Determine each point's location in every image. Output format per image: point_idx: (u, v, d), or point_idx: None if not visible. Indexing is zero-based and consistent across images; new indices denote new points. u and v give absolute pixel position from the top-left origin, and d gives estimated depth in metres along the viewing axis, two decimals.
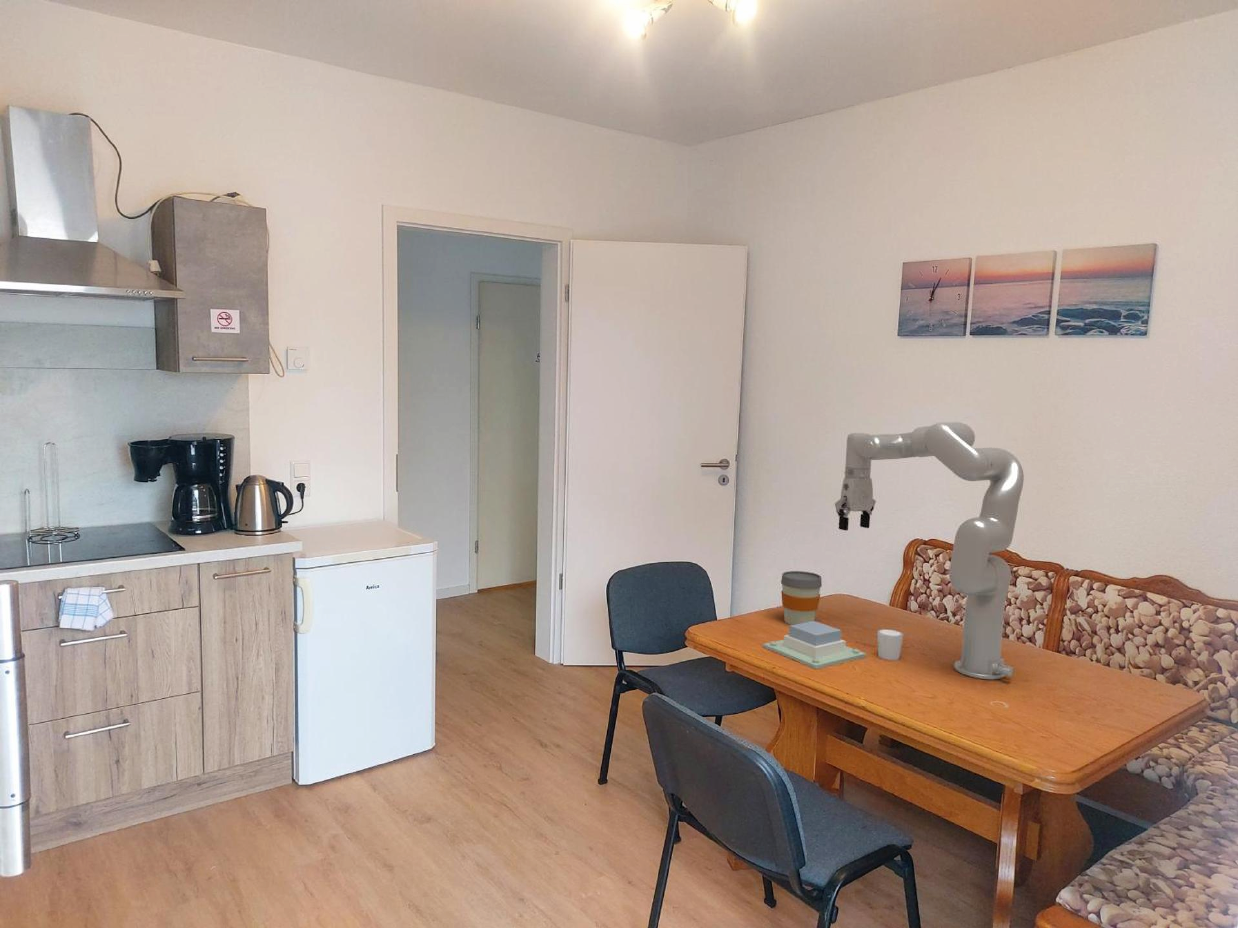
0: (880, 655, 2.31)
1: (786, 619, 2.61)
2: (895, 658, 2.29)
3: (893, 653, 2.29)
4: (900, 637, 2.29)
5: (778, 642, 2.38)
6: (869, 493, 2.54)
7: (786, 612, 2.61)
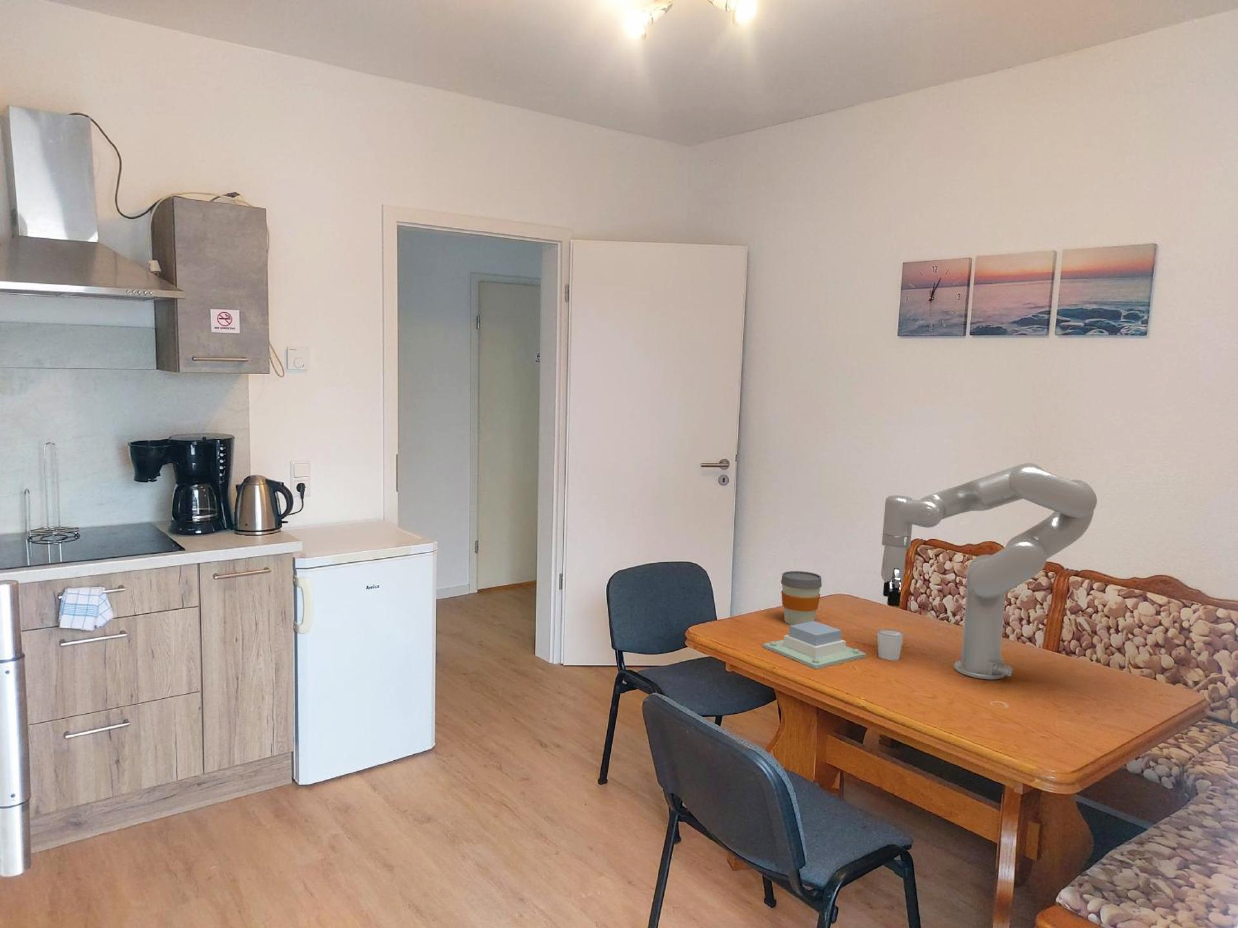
0: (880, 655, 2.31)
1: (786, 619, 2.61)
2: (895, 658, 2.29)
3: (893, 653, 2.29)
4: (900, 637, 2.29)
5: (778, 642, 2.38)
6: (885, 562, 2.27)
7: (786, 612, 2.61)
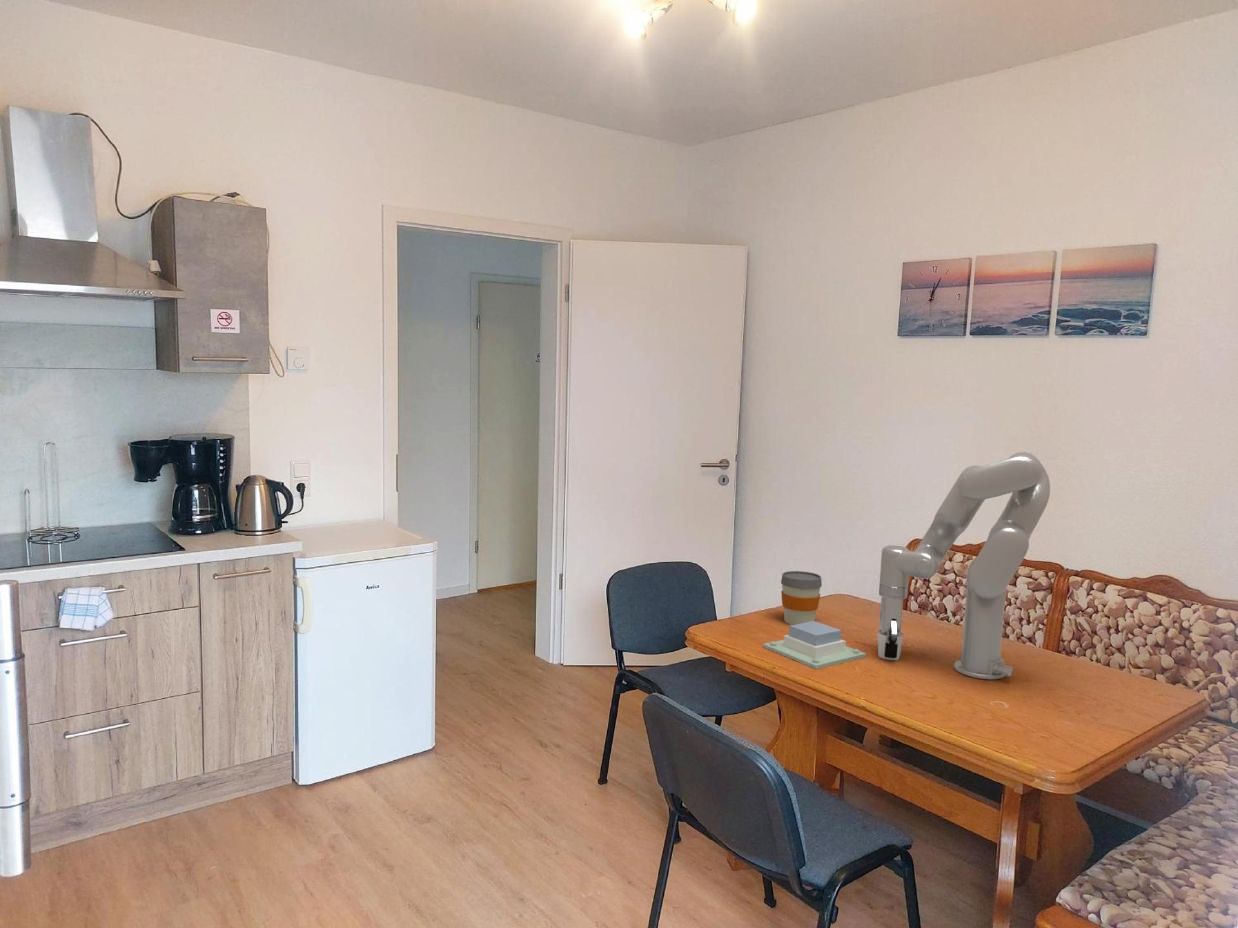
0: (880, 655, 2.31)
1: (786, 619, 2.61)
2: (895, 658, 2.29)
3: None
4: (900, 637, 2.29)
5: (778, 642, 2.38)
6: (882, 613, 2.29)
7: (786, 612, 2.61)
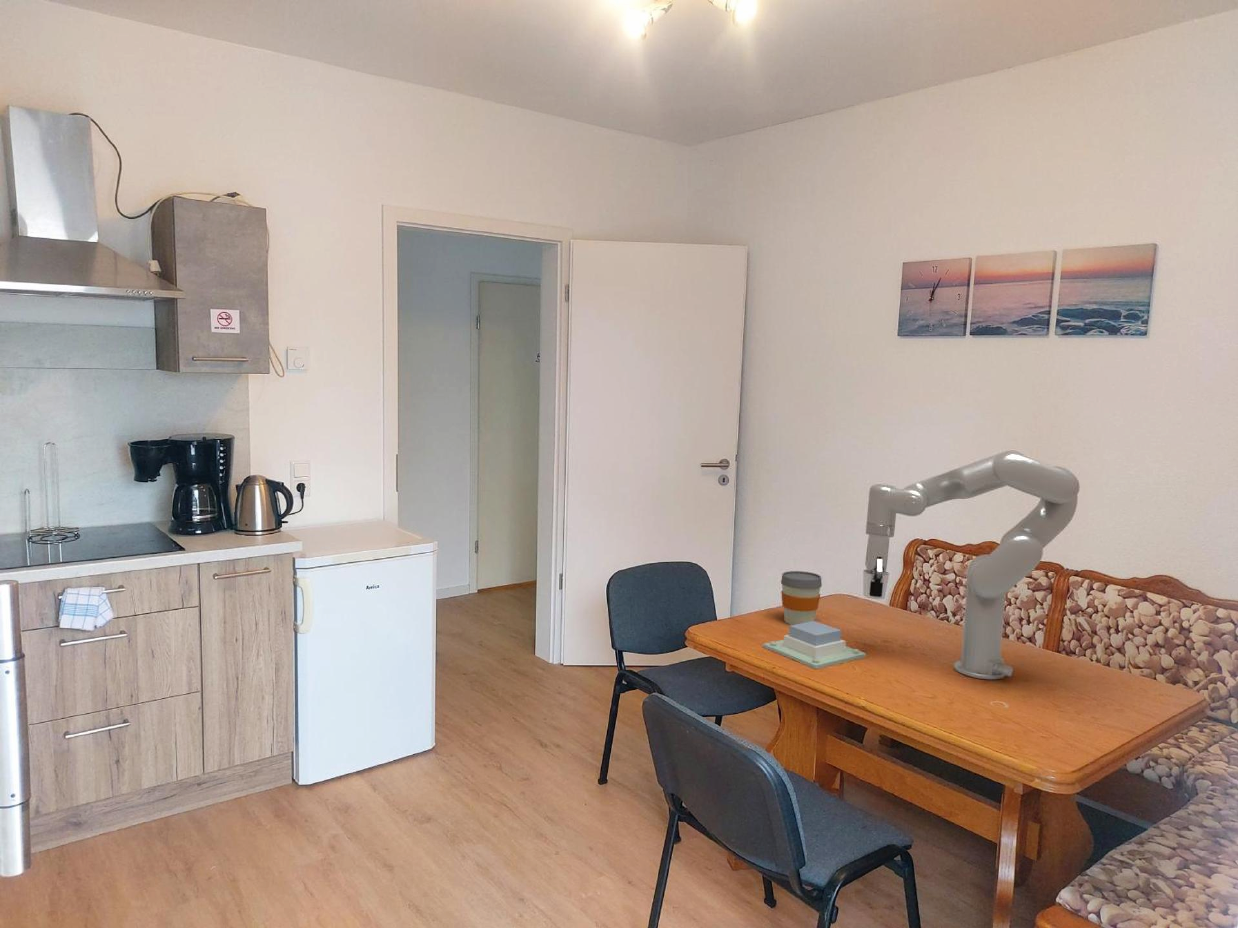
0: (865, 594, 2.30)
1: (786, 619, 2.61)
2: (880, 597, 2.28)
3: None
4: (886, 576, 2.27)
5: (778, 642, 2.38)
6: (868, 551, 2.27)
7: (786, 612, 2.61)
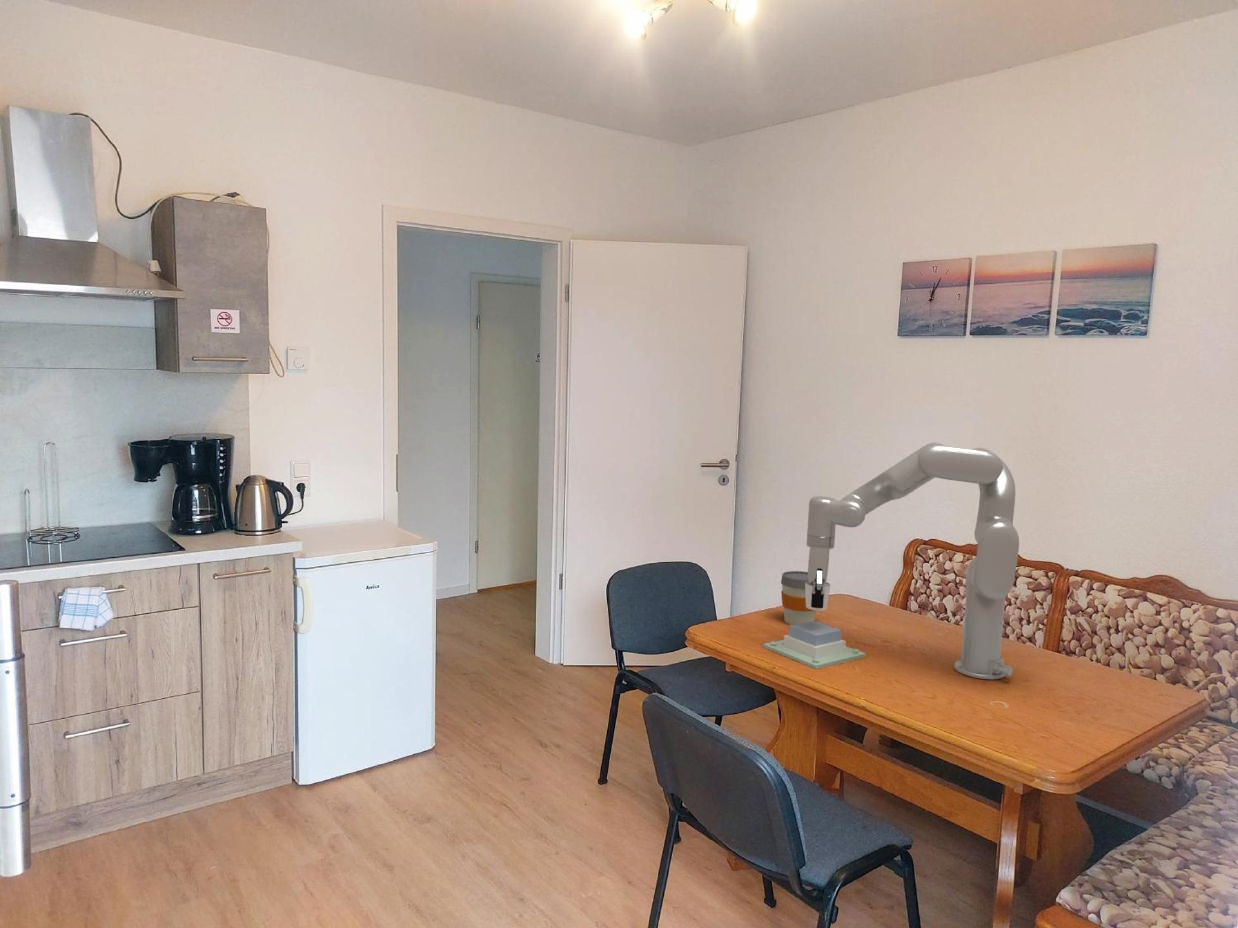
0: (807, 605, 2.32)
1: (786, 619, 2.61)
2: (822, 608, 2.30)
3: None
4: (826, 587, 2.29)
5: (778, 642, 2.38)
6: (809, 563, 2.29)
7: (786, 612, 2.61)
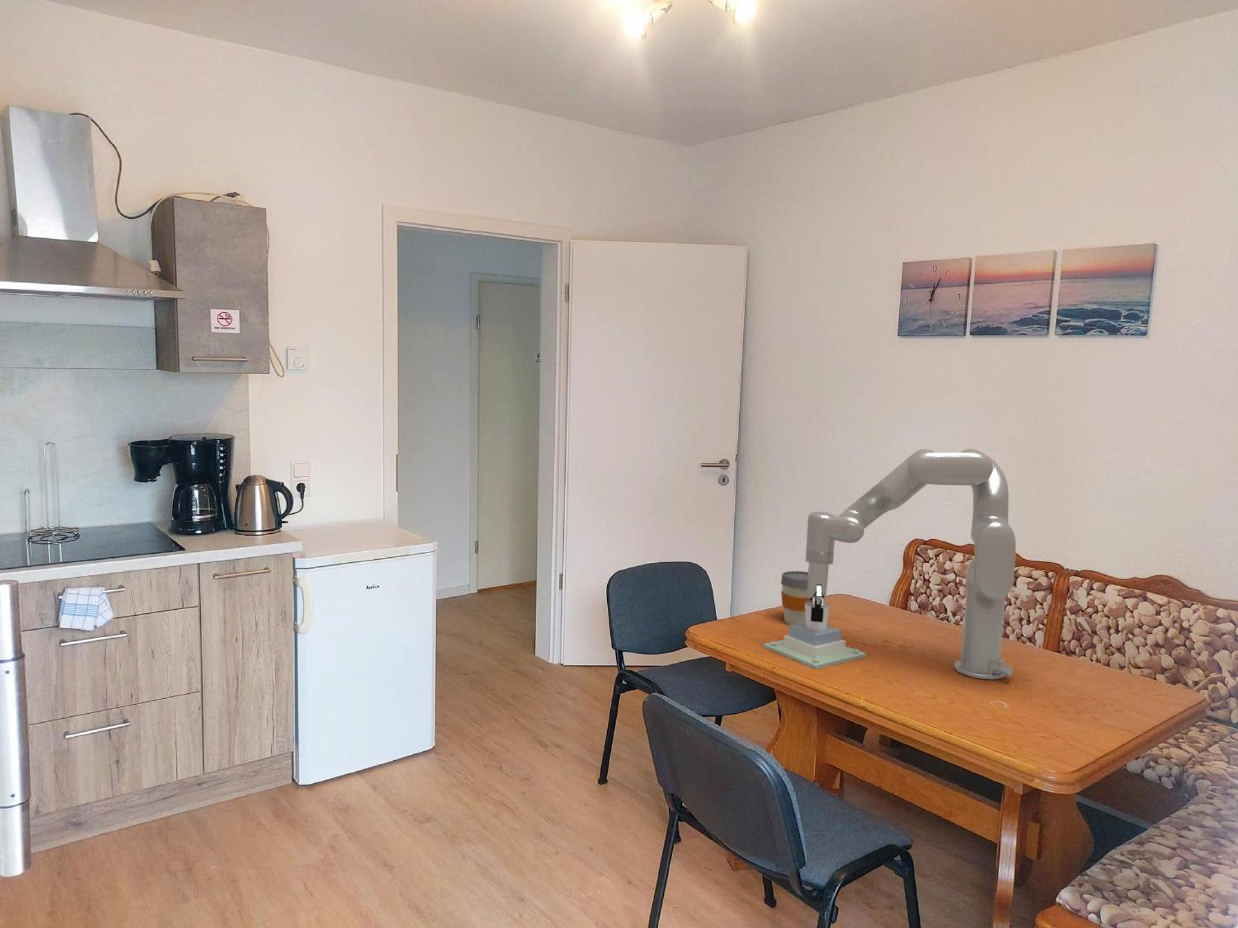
0: (807, 626, 2.32)
1: (786, 619, 2.61)
2: (821, 629, 2.31)
3: (819, 624, 2.30)
4: (826, 608, 2.30)
5: (778, 642, 2.38)
6: (808, 579, 2.29)
7: (786, 612, 2.61)
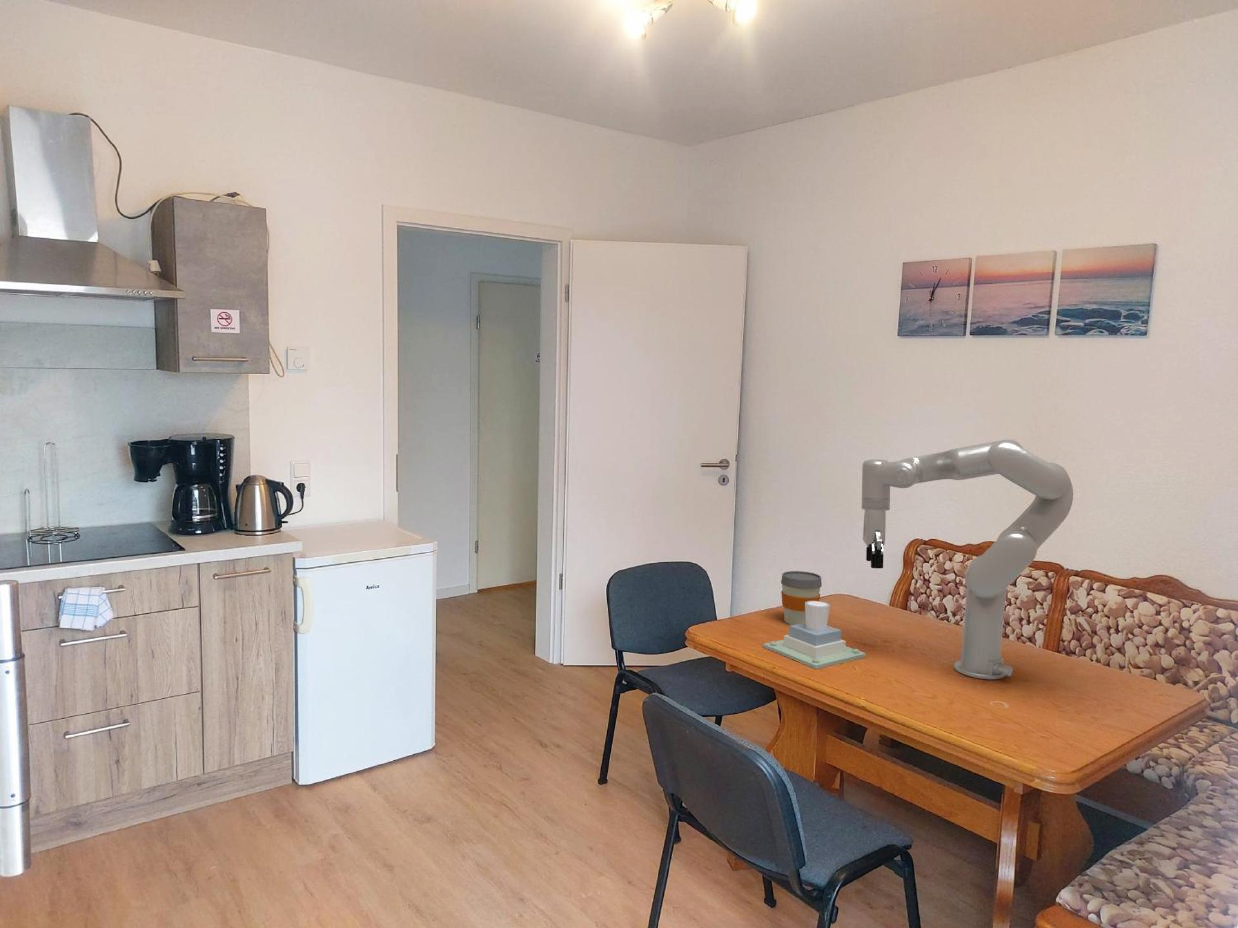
0: (807, 626, 2.32)
1: (786, 619, 2.61)
2: (821, 629, 2.31)
3: (819, 624, 2.30)
4: (826, 608, 2.30)
5: (778, 642, 2.38)
6: (866, 526, 2.30)
7: (786, 612, 2.61)
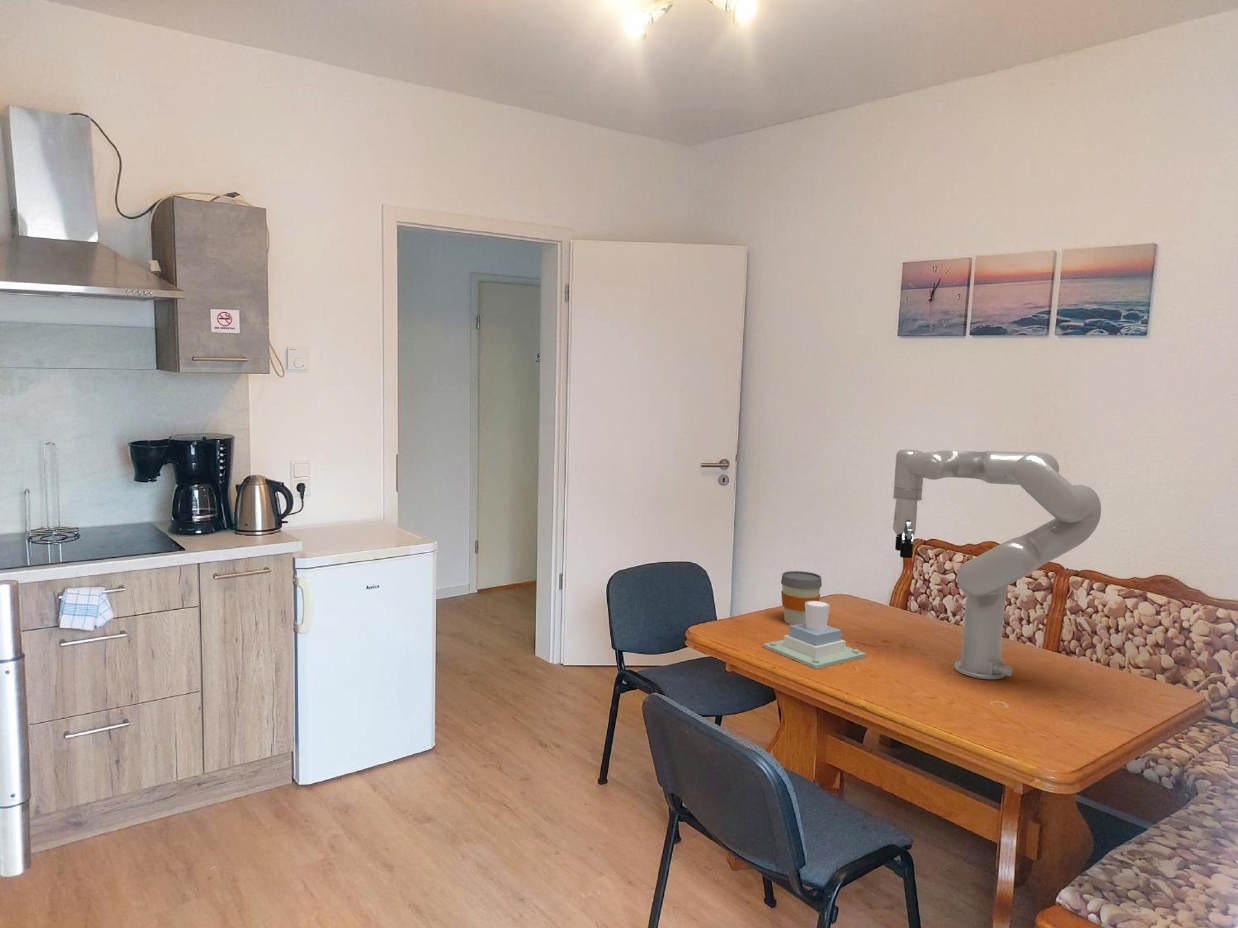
0: (807, 626, 2.32)
1: (786, 619, 2.61)
2: (821, 629, 2.31)
3: (819, 624, 2.30)
4: (826, 608, 2.30)
5: (778, 642, 2.38)
6: (897, 515, 2.31)
7: (786, 612, 2.61)
